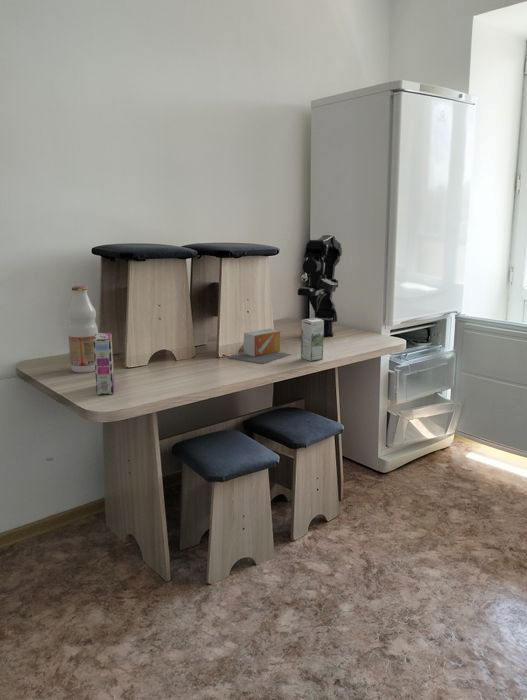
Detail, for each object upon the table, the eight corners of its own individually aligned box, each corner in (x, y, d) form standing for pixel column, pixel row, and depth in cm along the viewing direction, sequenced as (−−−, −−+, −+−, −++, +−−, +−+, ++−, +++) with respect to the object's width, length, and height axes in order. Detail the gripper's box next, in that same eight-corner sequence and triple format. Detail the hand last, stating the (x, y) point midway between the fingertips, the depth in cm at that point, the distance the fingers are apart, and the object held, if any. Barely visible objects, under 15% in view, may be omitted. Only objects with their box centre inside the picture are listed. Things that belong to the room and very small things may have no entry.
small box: (280, 351, 215) (254, 357, 207) (269, 348, 220) (243, 354, 212) (280, 330, 214) (254, 335, 205) (269, 328, 218) (243, 332, 210)
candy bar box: (114, 394, 165) (110, 339, 161) (96, 396, 164) (92, 340, 160) (115, 384, 175) (111, 331, 172) (98, 385, 174) (94, 332, 170)
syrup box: (313, 356, 209) (313, 317, 206) (323, 359, 204) (324, 319, 201) (300, 358, 206) (301, 318, 202) (311, 361, 201) (311, 321, 198)
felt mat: (255, 349, 221) (255, 348, 220) (290, 354, 211) (290, 354, 211) (227, 357, 207) (227, 357, 207) (263, 364, 198) (263, 363, 198)
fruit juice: (67, 373, 188) (60, 288, 182) (76, 366, 197) (70, 285, 191) (95, 373, 188) (89, 288, 181) (103, 366, 197) (98, 285, 191)
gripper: (321, 275, 213) (321, 316, 216) (346, 271, 227) (345, 310, 231) (296, 273, 219) (296, 313, 223) (322, 270, 234) (321, 307, 237)
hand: (315, 311), depth 228 cm, fingers closed
